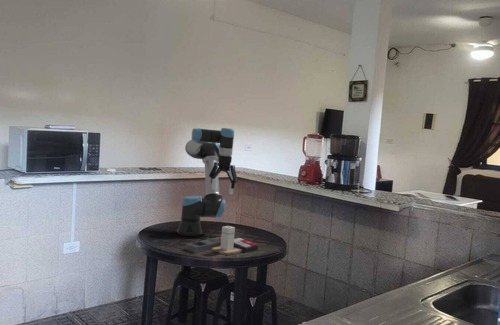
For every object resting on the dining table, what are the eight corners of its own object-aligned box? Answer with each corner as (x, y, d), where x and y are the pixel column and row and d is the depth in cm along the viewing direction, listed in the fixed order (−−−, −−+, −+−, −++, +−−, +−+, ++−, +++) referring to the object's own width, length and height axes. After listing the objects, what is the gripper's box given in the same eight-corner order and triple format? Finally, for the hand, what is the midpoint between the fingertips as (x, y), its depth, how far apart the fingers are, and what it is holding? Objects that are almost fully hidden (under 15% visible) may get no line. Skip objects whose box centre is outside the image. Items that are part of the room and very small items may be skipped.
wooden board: (211, 250, 224) (211, 247, 224) (225, 246, 233) (226, 244, 233) (227, 255, 216) (227, 253, 216) (242, 251, 226) (242, 249, 226)
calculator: (245, 247, 224) (226, 239, 234) (244, 254, 224) (225, 246, 234) (259, 244, 232) (239, 236, 242) (258, 251, 233) (238, 243, 242)
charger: (220, 248, 224) (222, 226, 223) (226, 246, 228) (228, 225, 227) (227, 250, 221) (229, 228, 220) (233, 249, 225) (235, 227, 224)
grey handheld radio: (195, 253, 216) (195, 246, 215) (184, 249, 221) (185, 242, 220) (234, 243, 240) (234, 237, 240) (224, 240, 245) (224, 234, 245)
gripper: (205, 152, 239) (201, 188, 241) (237, 158, 224) (234, 196, 226) (213, 152, 245) (210, 187, 247) (246, 158, 230) (242, 195, 232)
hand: (221, 191), depth 237 cm, fingers open, 13 cm apart
